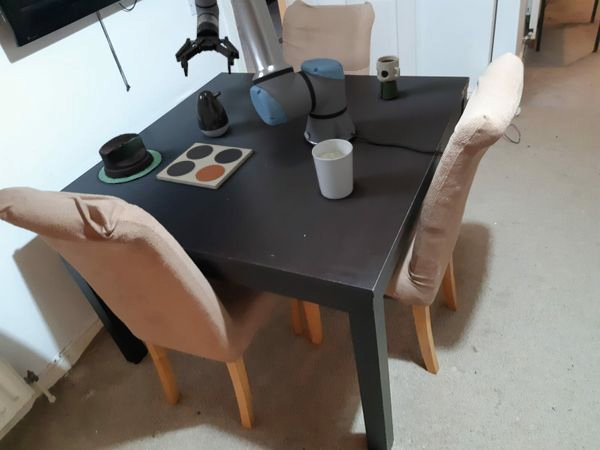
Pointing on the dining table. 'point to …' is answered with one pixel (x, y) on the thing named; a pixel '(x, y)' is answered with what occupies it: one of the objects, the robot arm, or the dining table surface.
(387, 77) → the character mug
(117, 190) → the dining table surface
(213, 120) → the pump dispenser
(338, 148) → the candle holder
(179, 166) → the hob plate
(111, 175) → the black green hat
